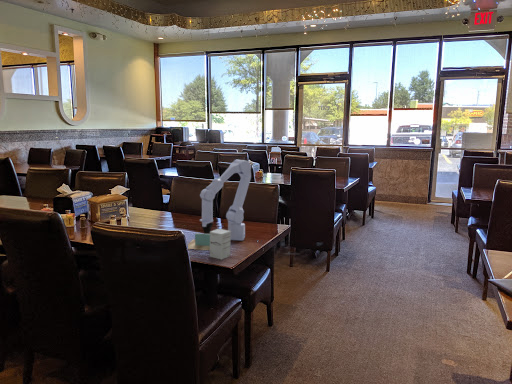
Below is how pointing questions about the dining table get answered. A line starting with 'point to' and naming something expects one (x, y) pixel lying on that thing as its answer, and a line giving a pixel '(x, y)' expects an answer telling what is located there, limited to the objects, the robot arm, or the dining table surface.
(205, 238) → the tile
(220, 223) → the dining table surface
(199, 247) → the mat
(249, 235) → the dining table surface
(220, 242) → the supplement box
